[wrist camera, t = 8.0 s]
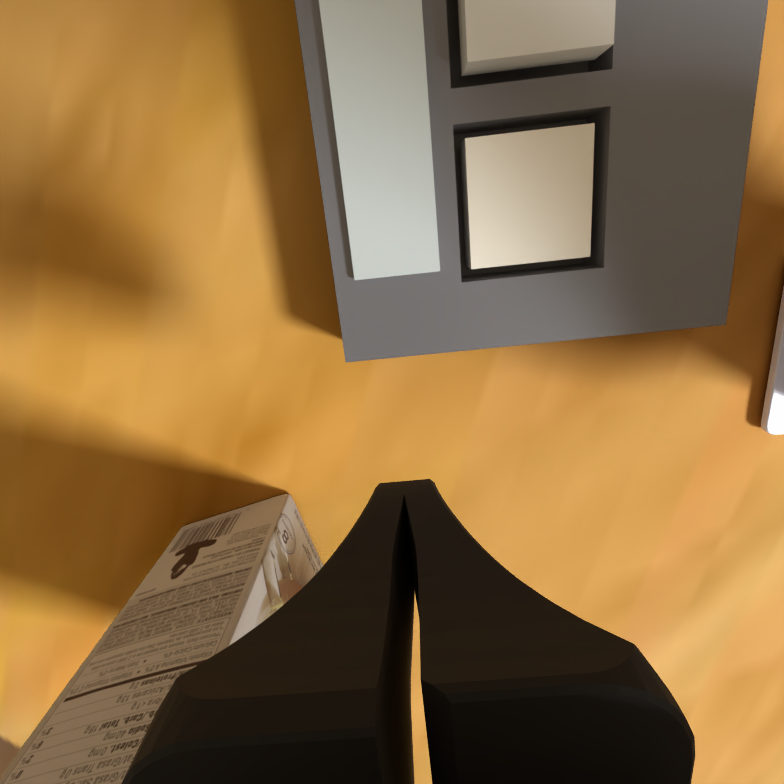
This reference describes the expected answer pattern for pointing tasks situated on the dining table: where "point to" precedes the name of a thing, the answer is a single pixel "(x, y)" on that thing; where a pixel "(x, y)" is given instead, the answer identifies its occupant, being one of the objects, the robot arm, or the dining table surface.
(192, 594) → the coffee box
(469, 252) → the cream key
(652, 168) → the keypad
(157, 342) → the dining table surface
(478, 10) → the beige key
